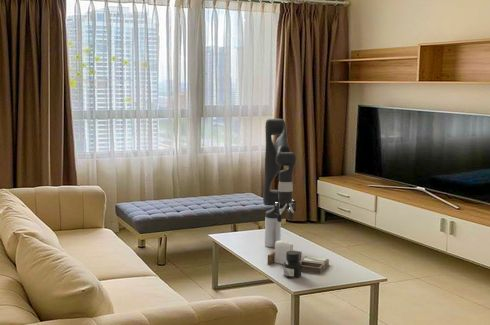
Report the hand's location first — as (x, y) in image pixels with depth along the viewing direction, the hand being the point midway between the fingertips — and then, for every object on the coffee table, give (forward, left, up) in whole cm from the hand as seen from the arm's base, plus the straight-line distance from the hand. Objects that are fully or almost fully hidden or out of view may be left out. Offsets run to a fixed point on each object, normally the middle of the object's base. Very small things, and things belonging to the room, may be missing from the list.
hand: (285, 220), depth 313 cm
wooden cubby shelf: (-3, 0, -23) cm, 24 cm away
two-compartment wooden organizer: (-1, +16, -23) cm, 28 cm away
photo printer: (-1, 0, -24) cm, 24 cm away
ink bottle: (+16, +10, -24) cm, 30 cm away
